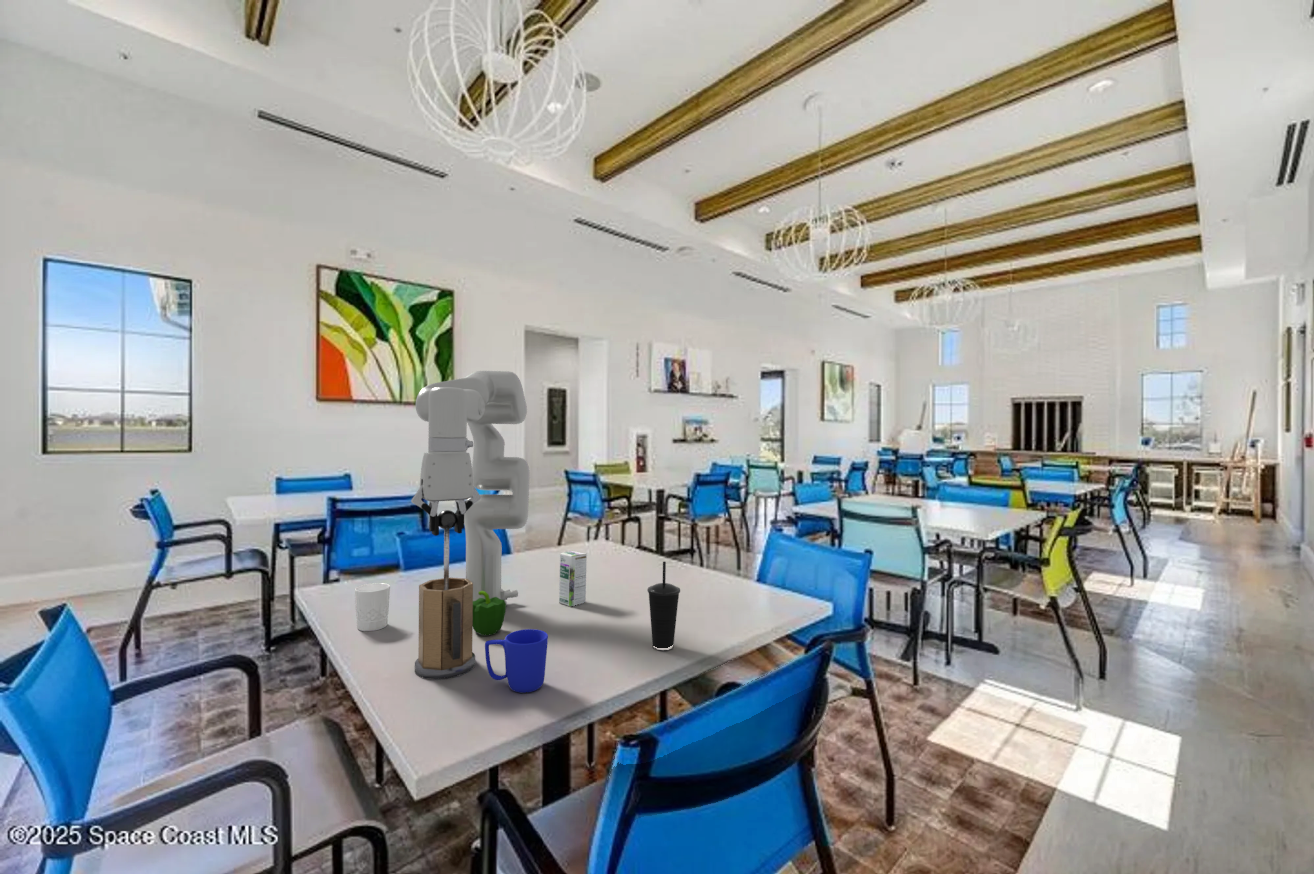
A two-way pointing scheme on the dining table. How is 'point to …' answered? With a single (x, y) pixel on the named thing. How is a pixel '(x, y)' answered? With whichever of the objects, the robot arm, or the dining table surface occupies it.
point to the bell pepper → (488, 614)
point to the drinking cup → (663, 612)
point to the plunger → (446, 540)
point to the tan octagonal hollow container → (445, 629)
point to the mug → (522, 659)
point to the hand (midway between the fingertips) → (446, 532)
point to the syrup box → (572, 578)
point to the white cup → (372, 606)
